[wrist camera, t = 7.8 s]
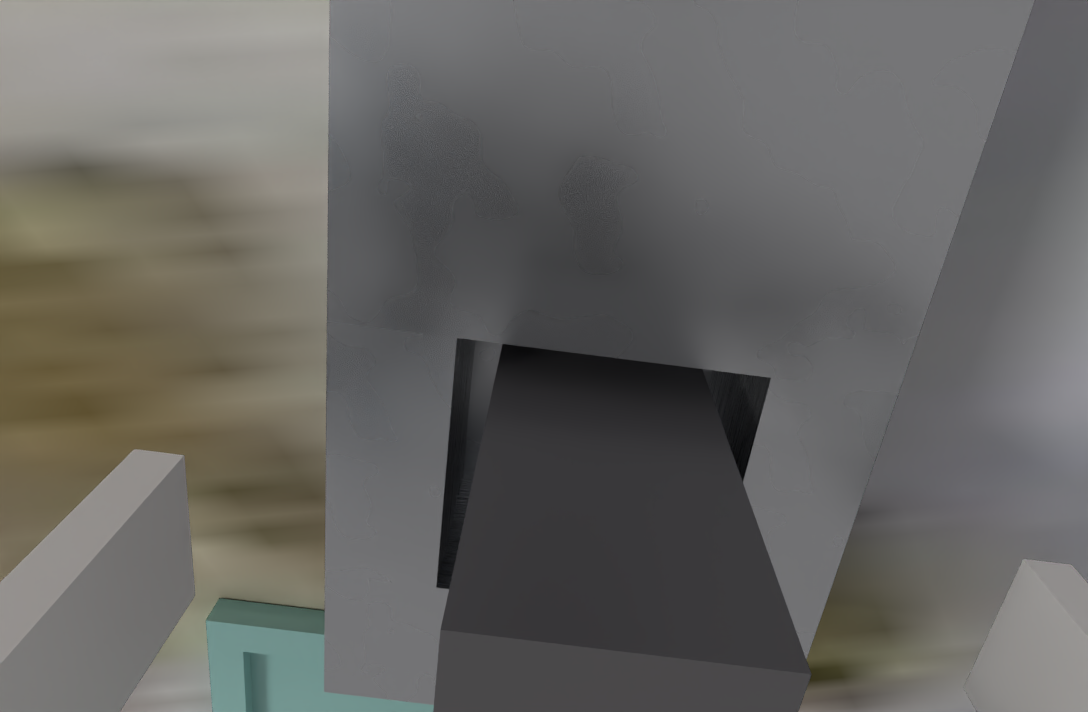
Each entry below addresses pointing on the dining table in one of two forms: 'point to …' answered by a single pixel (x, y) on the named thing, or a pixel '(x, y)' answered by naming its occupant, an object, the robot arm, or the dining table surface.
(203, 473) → the dining table surface
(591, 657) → the plug
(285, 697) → the tray
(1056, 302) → the dining table surface
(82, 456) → the dining table surface
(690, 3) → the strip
